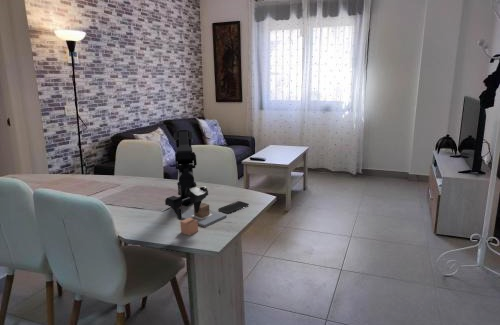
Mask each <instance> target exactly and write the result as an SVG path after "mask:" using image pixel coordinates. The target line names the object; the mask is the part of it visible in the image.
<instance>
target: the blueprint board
mask: <svg viewBox="0 0 500 325" xmlns="http://www.w3.org/2000/svg"><path fill="white" fill-rule="evenodd" d="M209 211H210V215H208V216H206V217H203V218H200V217H197V216H194V208H193V209H191V210H188V211H186V212H184V213H181V216H182V217H181V221H182V220H185V219H187V218H192V219H195V220H197V221H198V226H201V227H203V228H206V227H208V226H211V225H213V224H215V223H217V222H219V221H222V220H224V219H226V218H227V214H226V213H222V212H219V211H213V210H210V209H209ZM176 217H177V216H176ZM177 219H178V217H177Z"/></svg>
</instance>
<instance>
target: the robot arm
mask: <svg viewBox="0 0 500 325" xmlns="http://www.w3.org/2000/svg"><path fill="white" fill-rule="evenodd" d="M193 136H194V135H193V131H190V130H189V129H188V128H181V129H177V130H176V131H175V132H174V133H173V142H174V143H175V147H176V152H175V153H174V160H175V161H174V163H175V164H174V165H175V170H178V181H177V191H178V192H177V195H178V196H175V195H171V196H168V197H166V198H165V200H164V202H165V204H164V205H165V206H168V207H171V209H172V211H173V212H174V213H175V215H176V217H178V218H177V219H178V220H179V221H182V219H181V217H182V216H181V214H182V208H183V206H186V207H188V206H191V205H193V209H194V208H195V212H196V213H198V211H199V208H200V204H201V202H202V203H203V200H204V199H206V198H207V196H209V190H208V187H207V186H205V185H203V186H199V187H198V186H197V182H196V181H195V177H194V176H195V175H194V169H195V168H196V166H197V164H198V163H197V154H196V153H195V152H194V151H193V148H192V143H193V141H194V139H193Z"/></svg>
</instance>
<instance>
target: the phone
mask: <svg viewBox="0 0 500 325" xmlns="http://www.w3.org/2000/svg"><path fill="white" fill-rule="evenodd" d="M248 205H249V206H250V204H249V203H247V202H244V201H241V200H237V201H235V202H233V203H229V204H227V205H223V206H222V207H219V208H218V210H219V211H218V212H220V213H223V214H226V213H227V214H228V215H230V214H233V213H234V212H237V211H236V210H238V211H240V210H242V209H241V208H243V207H245V208H247V207H246V206H248ZM249 206H248V207H249ZM239 209H240V210H239ZM243 209H244V208H243ZM232 212H233V213H232ZM229 213H230V214H229ZM227 214H226V215H227Z"/></svg>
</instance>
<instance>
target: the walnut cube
mask: <svg viewBox="0 0 500 325" xmlns="http://www.w3.org/2000/svg"><path fill="white" fill-rule="evenodd" d="M193 209H194V216H197V217H200V218H203V217H206V216H208V215H210V211H209V210H210V204H209V203H205V202H203V201H202V202H201V204H200V208H199V211H198V213H196V212H195V208H194V207H193Z"/></svg>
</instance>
